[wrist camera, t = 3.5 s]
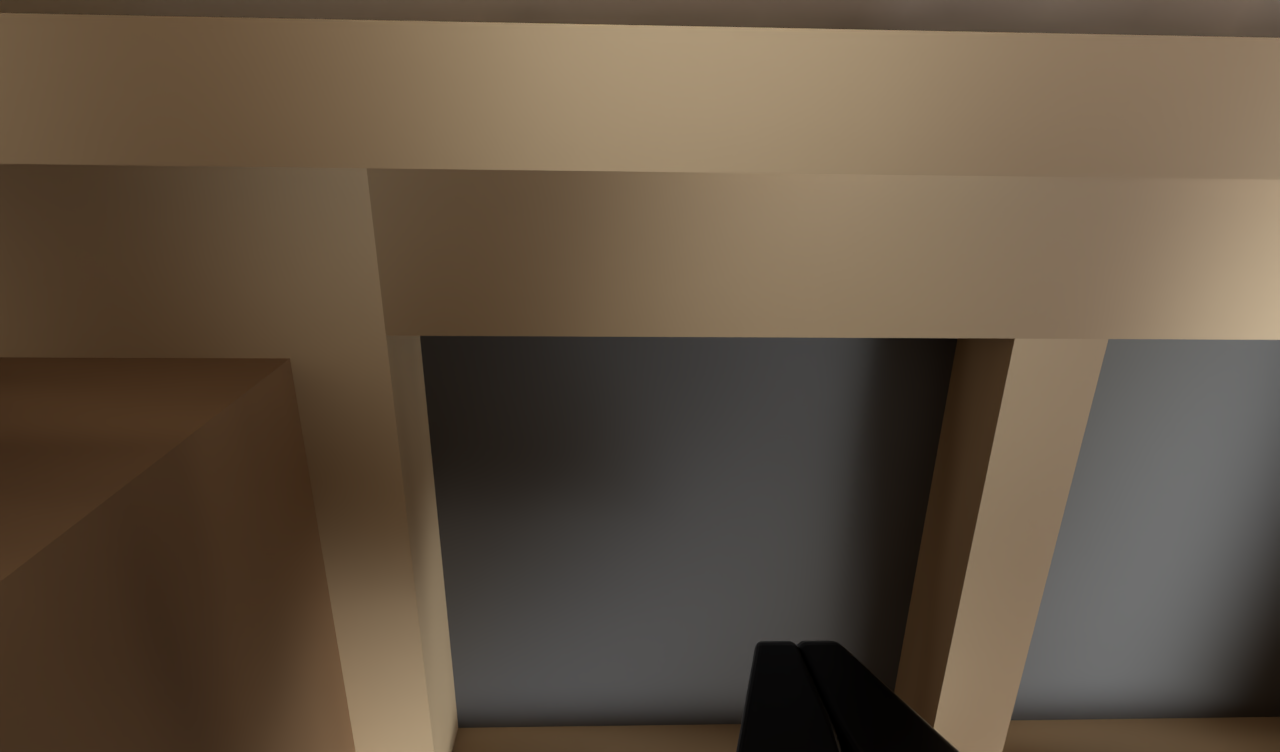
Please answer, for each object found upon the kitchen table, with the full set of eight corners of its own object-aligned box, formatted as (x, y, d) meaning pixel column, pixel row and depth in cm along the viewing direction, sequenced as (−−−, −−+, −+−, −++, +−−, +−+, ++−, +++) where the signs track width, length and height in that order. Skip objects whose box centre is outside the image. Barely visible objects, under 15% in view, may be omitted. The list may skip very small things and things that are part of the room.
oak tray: (-530, 851, 11) (-900, 1093, 9) (-1194, 21, 7) (-2339, -34, 4) (1283, 818, 12) (1477, 1026, 10) (1628, 72, 8) (2149, 54, 5)
